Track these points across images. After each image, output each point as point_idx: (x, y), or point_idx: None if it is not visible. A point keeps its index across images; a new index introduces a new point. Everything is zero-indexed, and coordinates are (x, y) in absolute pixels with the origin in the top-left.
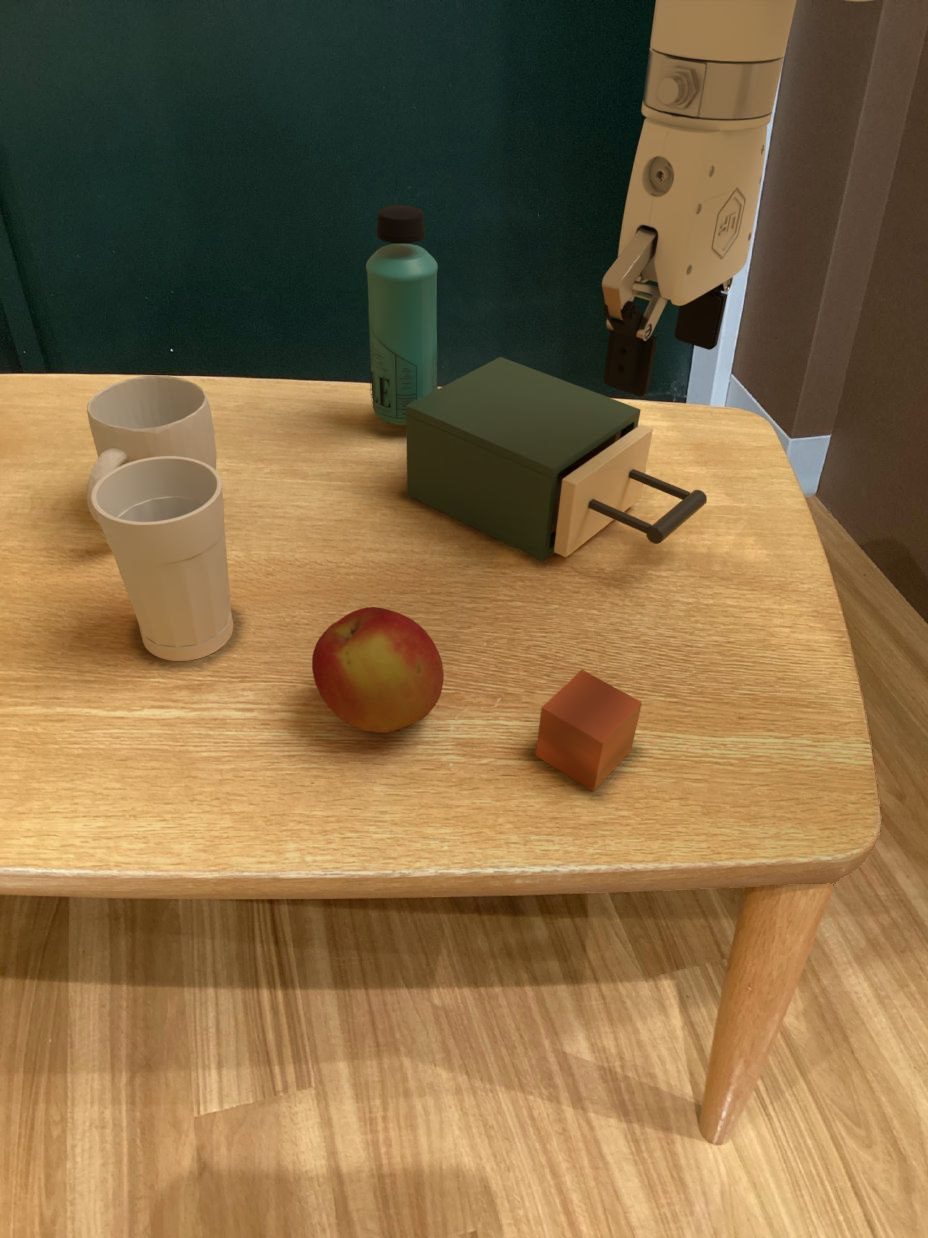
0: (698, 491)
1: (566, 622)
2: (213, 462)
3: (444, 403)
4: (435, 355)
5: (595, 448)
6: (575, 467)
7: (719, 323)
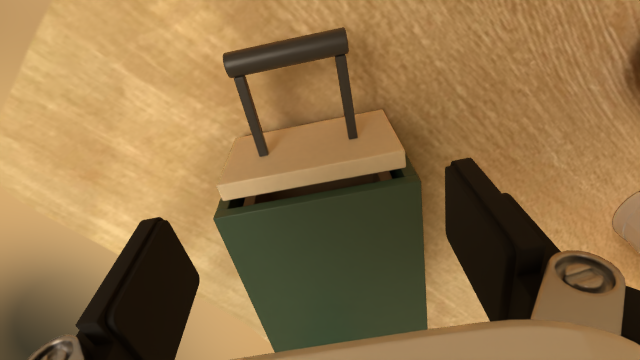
0: (230, 68)
1: (451, 35)
2: None
3: (396, 319)
4: None
5: None
6: None
7: (128, 258)
